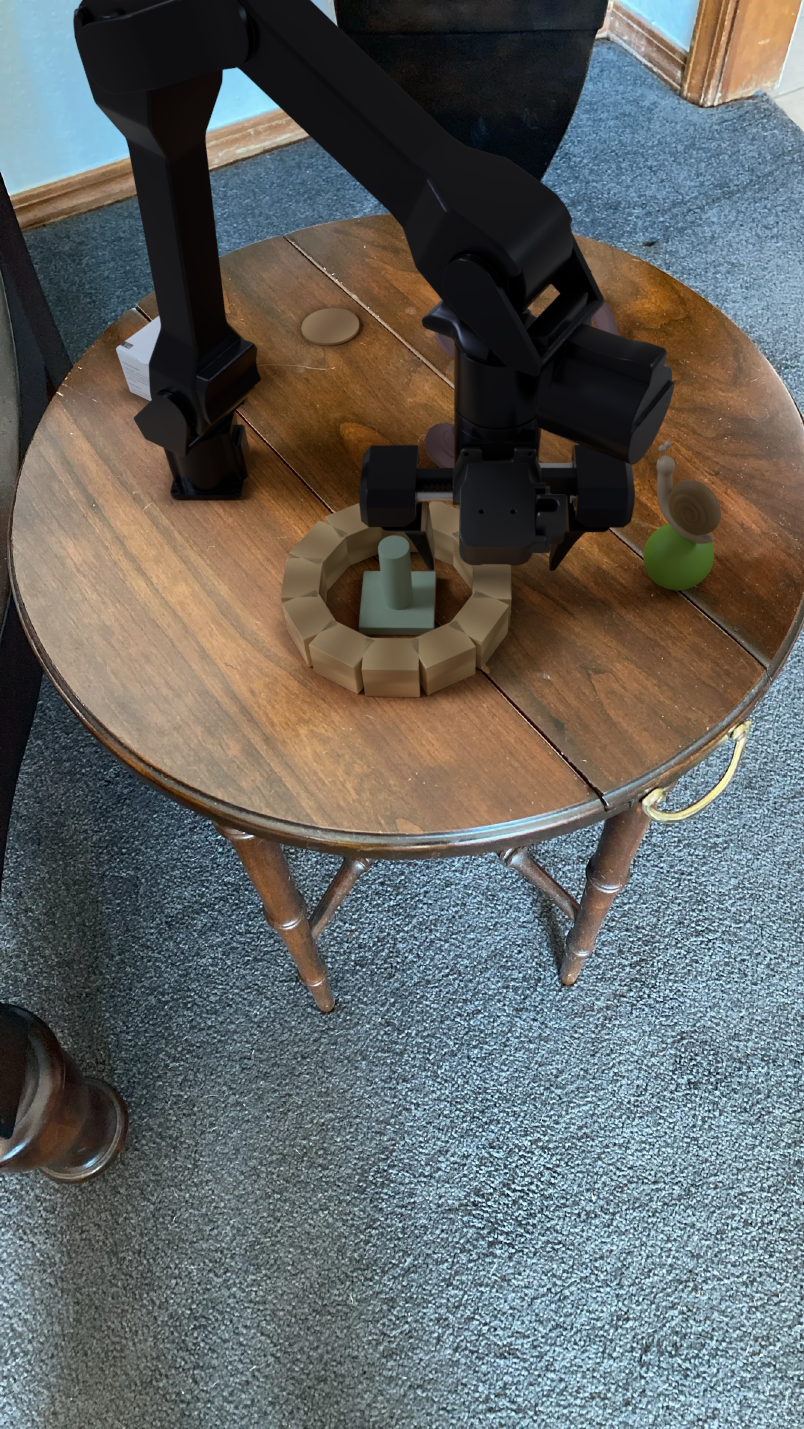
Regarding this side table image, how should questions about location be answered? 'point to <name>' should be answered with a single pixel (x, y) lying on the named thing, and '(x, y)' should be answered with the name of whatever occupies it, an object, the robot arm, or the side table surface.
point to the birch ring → (390, 660)
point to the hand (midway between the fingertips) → (491, 566)
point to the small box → (139, 358)
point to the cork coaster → (330, 326)
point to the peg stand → (397, 594)
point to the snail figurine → (681, 530)
